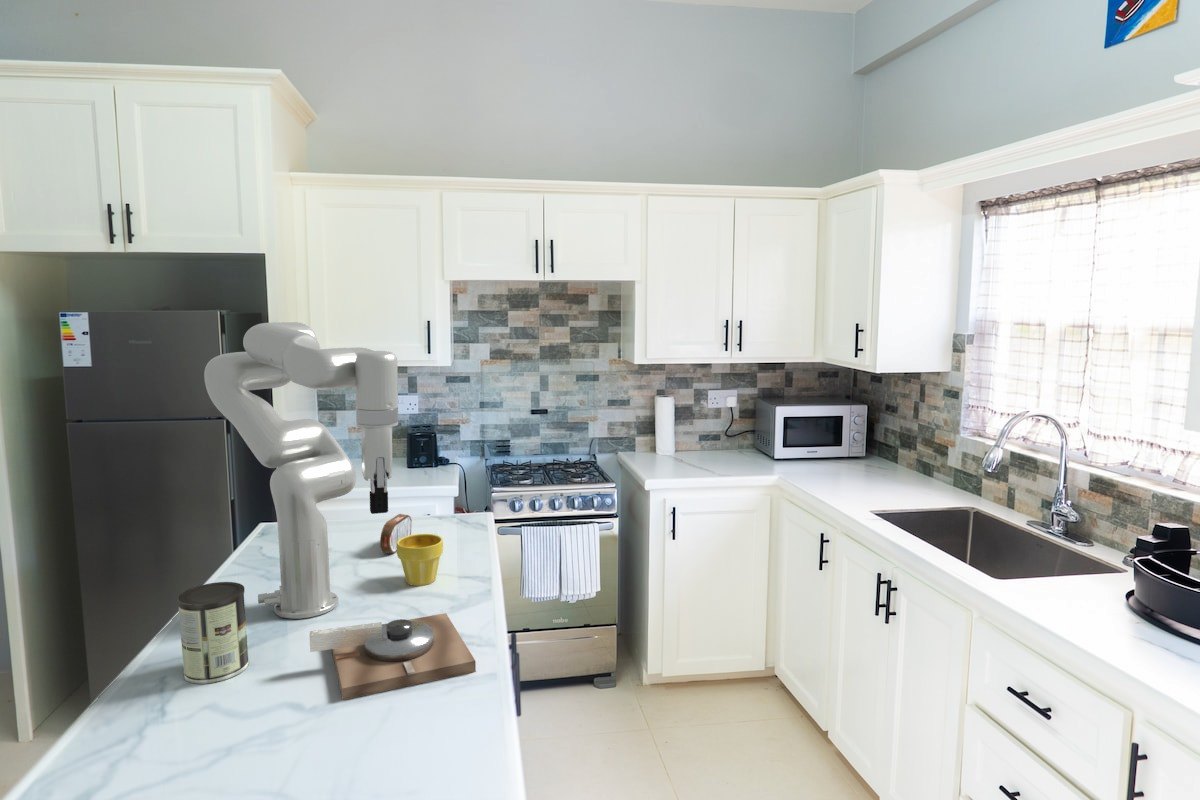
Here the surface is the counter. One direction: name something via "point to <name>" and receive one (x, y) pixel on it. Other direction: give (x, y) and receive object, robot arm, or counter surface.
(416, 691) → the counter surface
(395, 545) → the tin
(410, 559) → the plant pot
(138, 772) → the counter surface
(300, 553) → the robot arm
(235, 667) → the coffee can
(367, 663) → the dial board
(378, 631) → the dial
